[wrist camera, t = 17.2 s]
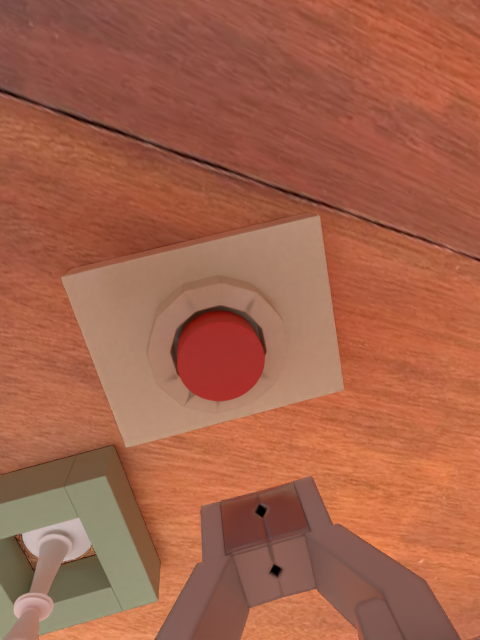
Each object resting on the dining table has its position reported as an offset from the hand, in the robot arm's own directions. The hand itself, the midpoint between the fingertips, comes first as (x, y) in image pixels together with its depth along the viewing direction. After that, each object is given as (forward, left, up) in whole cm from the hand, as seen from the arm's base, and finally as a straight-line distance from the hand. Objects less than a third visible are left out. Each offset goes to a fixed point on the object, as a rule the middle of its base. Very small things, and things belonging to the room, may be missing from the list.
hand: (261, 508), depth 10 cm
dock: (-14, -12, -15) cm, 24 cm away
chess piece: (-14, -12, -15) cm, 24 cm away
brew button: (0, 0, -12) cm, 12 cm away
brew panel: (0, 0, -15) cm, 15 cm away
